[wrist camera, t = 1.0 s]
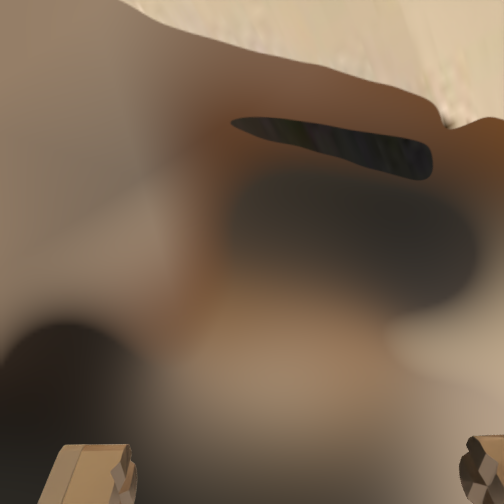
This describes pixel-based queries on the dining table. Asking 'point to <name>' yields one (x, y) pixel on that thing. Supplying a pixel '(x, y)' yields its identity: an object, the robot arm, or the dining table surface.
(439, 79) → the dining table surface
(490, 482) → the robot arm
